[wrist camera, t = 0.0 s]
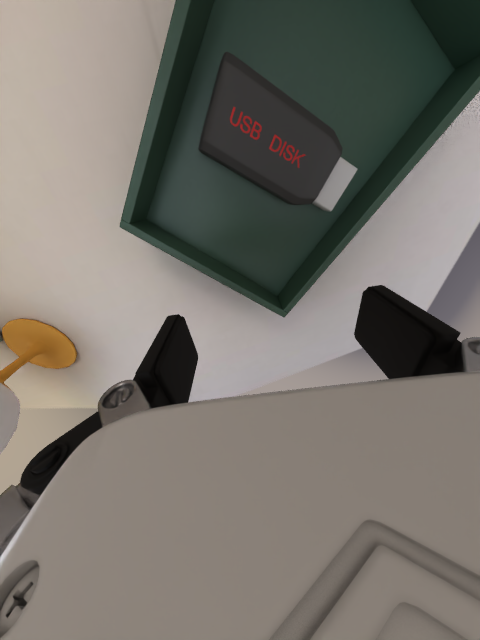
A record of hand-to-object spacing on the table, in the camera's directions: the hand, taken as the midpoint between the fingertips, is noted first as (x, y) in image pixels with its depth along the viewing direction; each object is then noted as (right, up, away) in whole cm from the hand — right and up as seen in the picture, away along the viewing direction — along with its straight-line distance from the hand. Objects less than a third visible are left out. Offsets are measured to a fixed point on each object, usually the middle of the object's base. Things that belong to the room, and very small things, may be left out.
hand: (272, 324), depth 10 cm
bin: (+1, +14, +6) cm, 16 cm away
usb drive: (+1, +14, +6) cm, 16 cm away
